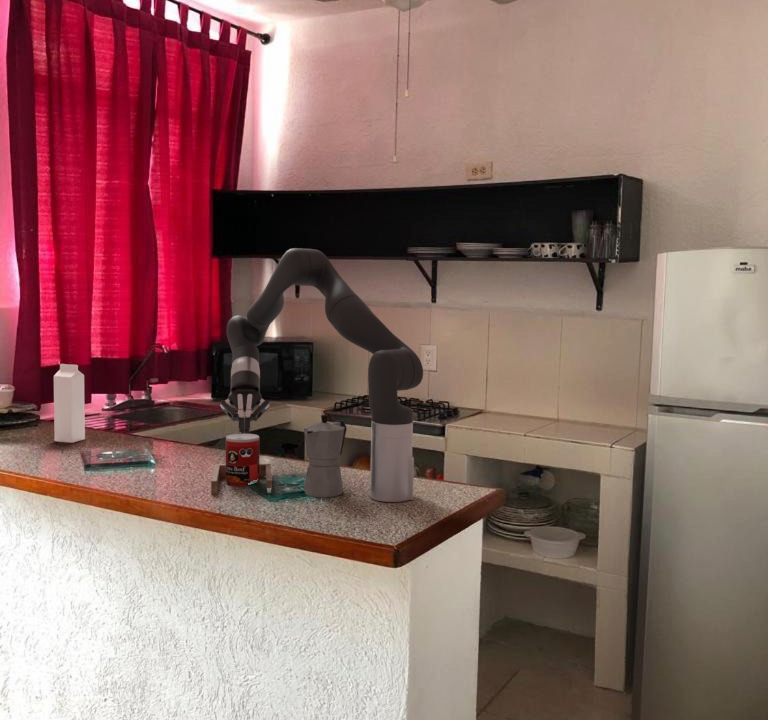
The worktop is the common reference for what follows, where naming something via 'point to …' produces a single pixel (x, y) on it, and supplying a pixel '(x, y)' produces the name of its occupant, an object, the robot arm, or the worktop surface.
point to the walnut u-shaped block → (221, 472)
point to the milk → (69, 404)
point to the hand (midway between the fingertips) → (244, 432)
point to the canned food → (242, 459)
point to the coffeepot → (324, 458)
